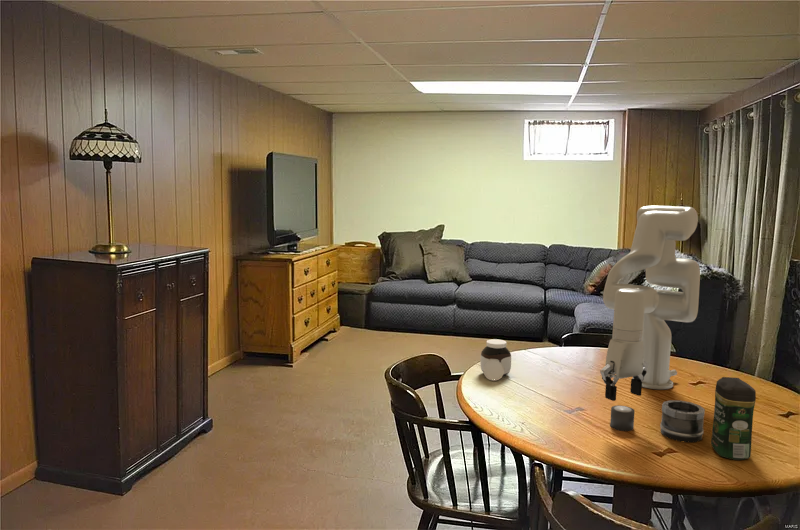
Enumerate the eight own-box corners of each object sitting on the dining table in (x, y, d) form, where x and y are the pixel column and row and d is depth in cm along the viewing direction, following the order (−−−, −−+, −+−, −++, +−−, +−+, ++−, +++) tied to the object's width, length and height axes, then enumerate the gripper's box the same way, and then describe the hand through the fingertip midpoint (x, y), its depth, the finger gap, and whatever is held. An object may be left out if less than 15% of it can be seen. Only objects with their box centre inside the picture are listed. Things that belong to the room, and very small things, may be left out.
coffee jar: (706, 443, 157) (712, 373, 155) (739, 445, 156) (746, 375, 154) (719, 460, 148) (725, 385, 145) (754, 463, 147) (762, 388, 144)
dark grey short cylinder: (620, 421, 172) (621, 403, 171) (638, 428, 166) (639, 410, 166) (605, 425, 169) (606, 407, 168) (622, 432, 164) (623, 414, 163)
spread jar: (502, 369, 217) (503, 337, 216) (519, 379, 207) (520, 346, 205) (472, 373, 213) (473, 340, 212) (487, 383, 203) (488, 349, 201)
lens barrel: (677, 424, 170) (679, 397, 169) (711, 438, 161) (714, 410, 160) (651, 431, 165) (653, 403, 164) (685, 445, 156) (687, 417, 155)
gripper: (638, 329, 171) (634, 388, 173) (593, 334, 163) (589, 397, 165) (661, 335, 165) (656, 396, 167) (615, 341, 157) (611, 405, 159)
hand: (623, 396), depth 166 cm, fingers open, 9 cm apart
